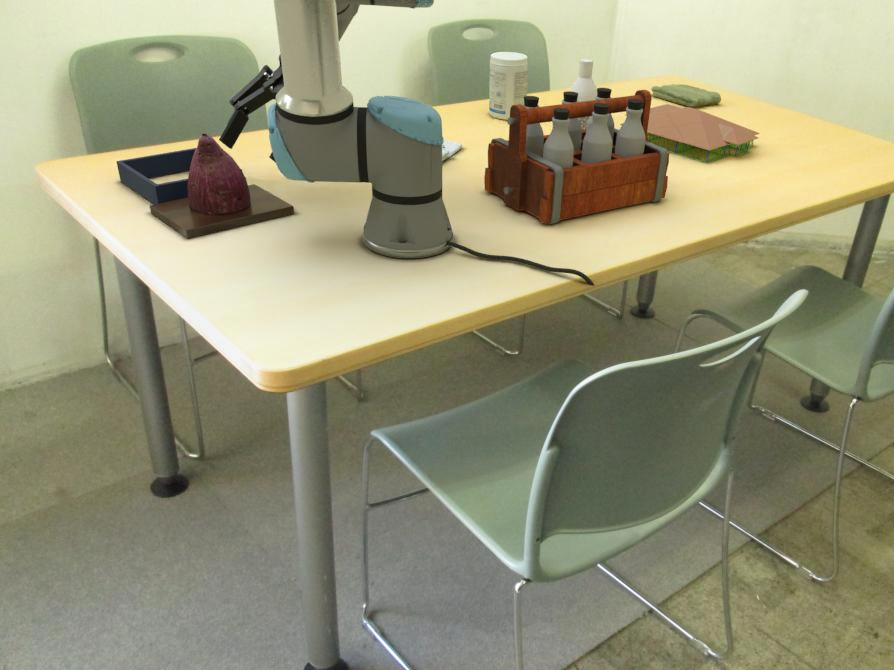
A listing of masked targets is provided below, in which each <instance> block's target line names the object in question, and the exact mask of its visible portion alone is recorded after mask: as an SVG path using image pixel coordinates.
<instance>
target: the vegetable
mask: <svg viewBox="0 0 894 670" xmlns="http://www.w3.org/2000/svg"><path fill="white" fill-rule="evenodd" d="M196 148H197V149H196V150H195V152H194V155H193V158H192V162H191V166H190V171H188V175H187V179H188V202H189V206H190V208H192V209H193V210H196V211H199V212H201V213H205V214H213V215H214V214H227V213H234V212H238V211H240V210H243V209H245V208H247V207H249V206H250V204H251V201H250V192H249V188H248V185H249V184H248V181H247V178H246V177H245V174H244V172H243V169H242V168H241V167H240V165H238V163H237V162H236V160H235V159H234V158H233V157H232V156H231V155H230V154H229V153H228V152H227V151H226V150H225V149H223V147H221V145H220V144H219V143H218V142H217V141H216V139H215V138H214V137H213V136H211V134H207V133H206V132H203V131H202V132H201V135H200V136H199V138H198V142H197V146H196ZM241 169H242V170H241Z"/></svg>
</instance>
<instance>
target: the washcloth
mask: <svg viewBox="0 0 894 670" xmlns="http://www.w3.org/2000/svg"><path fill="white" fill-rule="evenodd" d="M650 90H651V92H652V96H653V97H655V98H658V99H662V100H665V101H668V102H672V103H675V104H678V105H683V106H685V107H691V108H697V107H704V106H711V105H719V103H721V102H722V96H721V94H720V92H717V91H711V90H707V89H704V88H700V87H696V86H693V85H689V84H679V83H678V84H663V85H660V86H658V85H655V86H652V87H651V88H650Z"/></svg>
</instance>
